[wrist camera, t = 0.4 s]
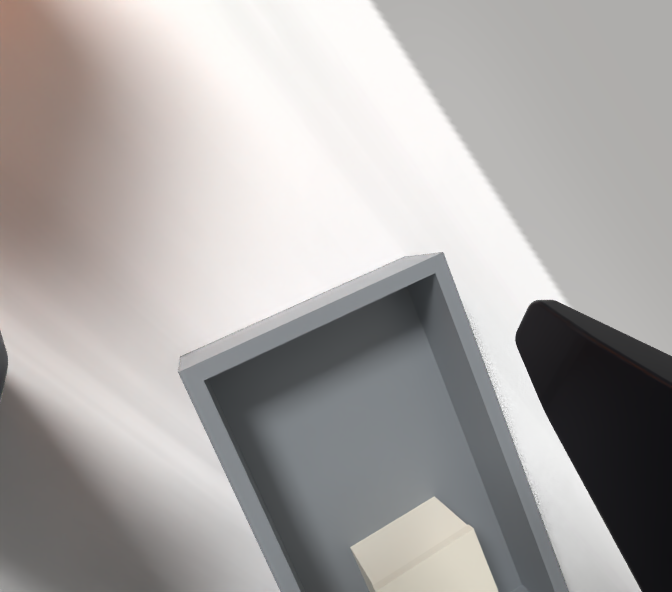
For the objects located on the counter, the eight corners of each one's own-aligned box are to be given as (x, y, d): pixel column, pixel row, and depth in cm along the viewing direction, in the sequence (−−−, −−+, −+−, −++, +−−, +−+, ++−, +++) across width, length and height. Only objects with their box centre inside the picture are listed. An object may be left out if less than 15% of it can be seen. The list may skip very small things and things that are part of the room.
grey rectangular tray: (528, 581, 28) (582, 629, 24) (344, 710, 25) (372, 789, 21) (404, 256, 25) (443, 252, 21) (180, 356, 22) (178, 372, 18)
